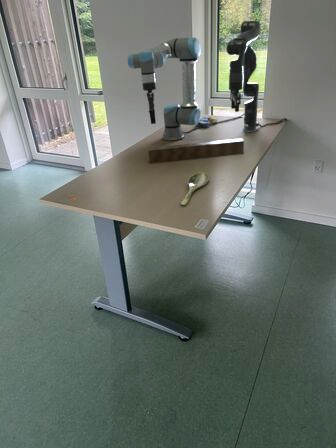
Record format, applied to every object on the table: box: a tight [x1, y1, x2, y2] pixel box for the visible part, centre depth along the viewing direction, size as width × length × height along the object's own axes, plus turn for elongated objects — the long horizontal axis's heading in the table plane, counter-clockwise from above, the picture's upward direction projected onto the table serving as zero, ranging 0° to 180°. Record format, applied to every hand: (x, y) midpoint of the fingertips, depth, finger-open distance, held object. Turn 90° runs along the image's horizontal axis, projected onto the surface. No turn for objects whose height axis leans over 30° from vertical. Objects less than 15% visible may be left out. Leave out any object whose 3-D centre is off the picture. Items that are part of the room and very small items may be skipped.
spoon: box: [180, 171, 210, 207], centre depth 170 cm, size 35×11×2 cm, turn 159°
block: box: [147, 137, 245, 164], centre depth 209 cm, size 59×5×8 cm, turn 95°
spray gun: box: [195, 115, 218, 128], centre depth 272 cm, size 21×4×15 cm
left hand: (152, 120), depth 197 cm, fingers open, 13 cm apart
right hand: (235, 110), depth 197 cm, fingers open, 8 cm apart
